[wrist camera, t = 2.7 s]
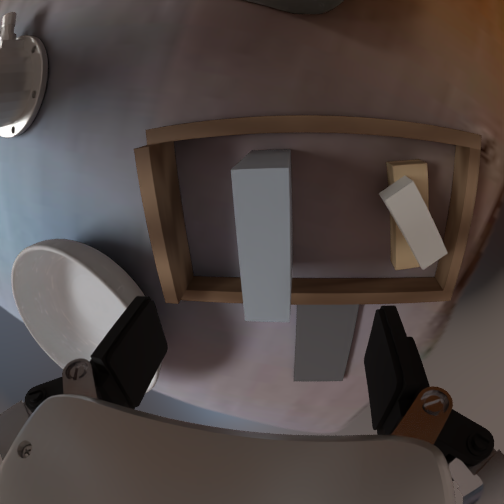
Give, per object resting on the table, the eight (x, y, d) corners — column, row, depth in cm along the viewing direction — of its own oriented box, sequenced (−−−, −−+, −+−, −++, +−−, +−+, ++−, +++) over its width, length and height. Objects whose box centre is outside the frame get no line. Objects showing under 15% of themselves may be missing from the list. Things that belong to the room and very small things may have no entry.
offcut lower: (384, 160, 21) (392, 165, 19) (416, 158, 20) (427, 163, 18) (389, 258, 25) (395, 270, 23) (417, 254, 24) (425, 265, 22)
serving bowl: (169, 225, 26) (134, 262, 20) (188, 373, 36) (172, 414, 30) (28, 215, 28) (-10, 239, 22) (68, 339, 38) (46, 368, 32)
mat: (297, 291, 27) (297, 295, 26) (359, 291, 26) (360, 295, 26) (293, 377, 33) (293, 381, 32) (342, 377, 32) (342, 380, 31)
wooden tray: (158, 127, 22) (131, 132, 18) (466, 131, 18) (496, 139, 14) (184, 285, 29) (168, 313, 25) (441, 286, 25) (458, 314, 21)
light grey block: (251, 150, 22) (230, 169, 15) (290, 149, 21) (288, 167, 14) (259, 263, 26) (245, 320, 19) (292, 263, 26) (289, 322, 19)
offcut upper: (378, 193, 20) (384, 200, 18) (404, 175, 19) (413, 181, 17) (415, 259, 22) (422, 270, 20) (439, 243, 21) (447, 253, 19)
